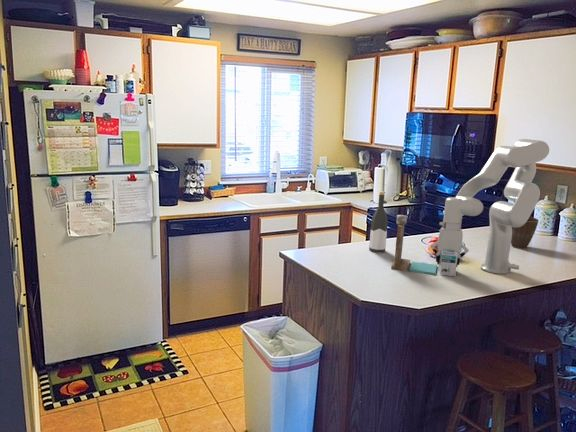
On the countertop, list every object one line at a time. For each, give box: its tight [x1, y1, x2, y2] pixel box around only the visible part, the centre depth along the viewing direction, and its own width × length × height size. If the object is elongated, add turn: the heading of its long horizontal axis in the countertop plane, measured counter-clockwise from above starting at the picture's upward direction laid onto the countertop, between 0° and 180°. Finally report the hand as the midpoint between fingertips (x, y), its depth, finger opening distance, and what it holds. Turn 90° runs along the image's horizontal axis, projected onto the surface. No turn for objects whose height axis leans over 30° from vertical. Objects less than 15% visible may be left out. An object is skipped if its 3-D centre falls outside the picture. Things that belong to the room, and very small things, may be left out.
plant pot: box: [510, 216, 540, 250], centre depth 267 cm, size 15×15×16 cm
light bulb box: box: [437, 250, 458, 277], centre depth 218 cm, size 11×7×11 cm, turn 168°
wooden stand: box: [390, 214, 411, 272], centre depth 223 cm, size 7×13×23 cm, turn 161°
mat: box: [409, 261, 438, 276], centre depth 223 cm, size 11×13×1 cm
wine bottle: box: [368, 190, 389, 254], centre depth 246 cm, size 8×8×30 cm
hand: (447, 264), depth 219 cm, fingers closed on light bulb box, 7 cm apart
